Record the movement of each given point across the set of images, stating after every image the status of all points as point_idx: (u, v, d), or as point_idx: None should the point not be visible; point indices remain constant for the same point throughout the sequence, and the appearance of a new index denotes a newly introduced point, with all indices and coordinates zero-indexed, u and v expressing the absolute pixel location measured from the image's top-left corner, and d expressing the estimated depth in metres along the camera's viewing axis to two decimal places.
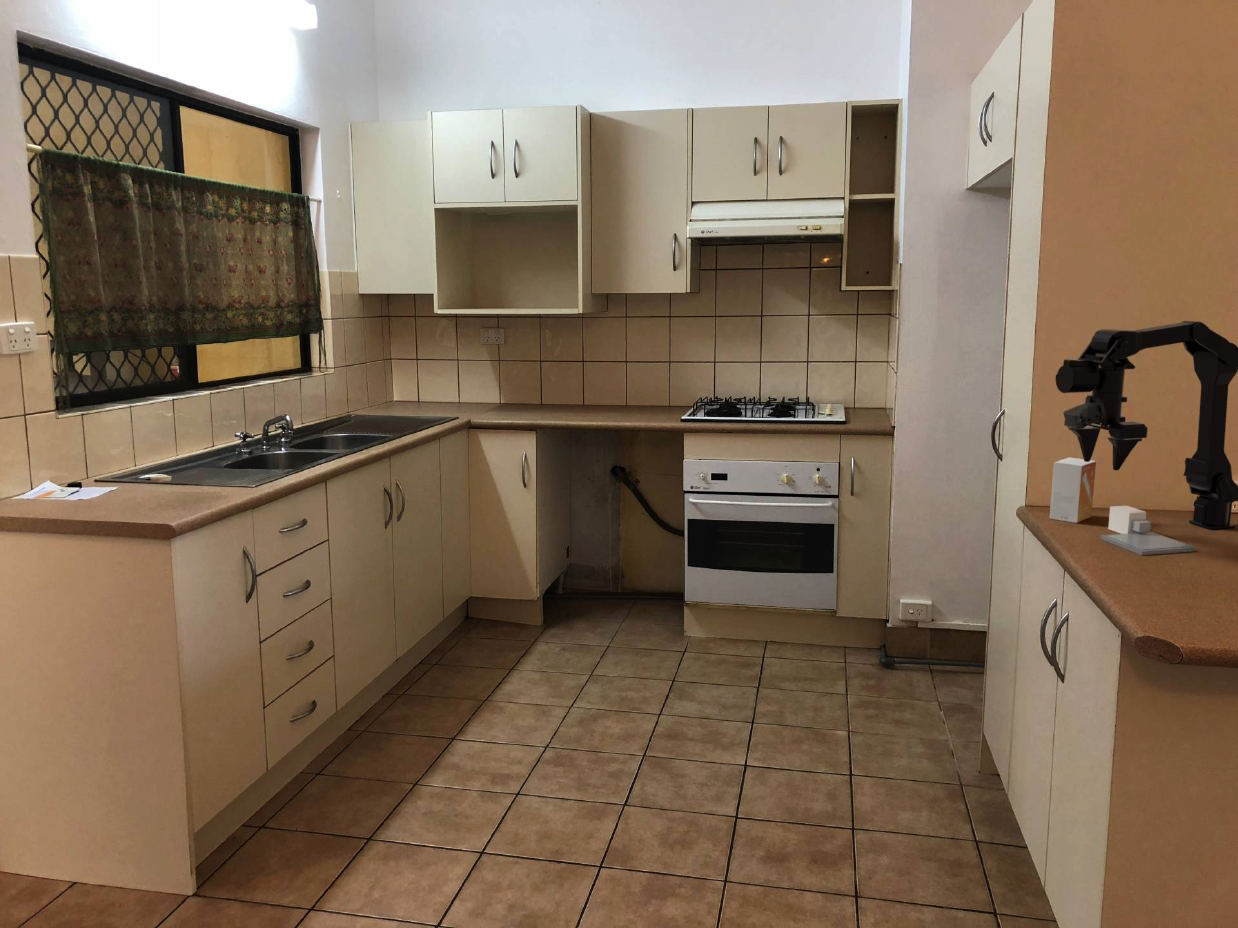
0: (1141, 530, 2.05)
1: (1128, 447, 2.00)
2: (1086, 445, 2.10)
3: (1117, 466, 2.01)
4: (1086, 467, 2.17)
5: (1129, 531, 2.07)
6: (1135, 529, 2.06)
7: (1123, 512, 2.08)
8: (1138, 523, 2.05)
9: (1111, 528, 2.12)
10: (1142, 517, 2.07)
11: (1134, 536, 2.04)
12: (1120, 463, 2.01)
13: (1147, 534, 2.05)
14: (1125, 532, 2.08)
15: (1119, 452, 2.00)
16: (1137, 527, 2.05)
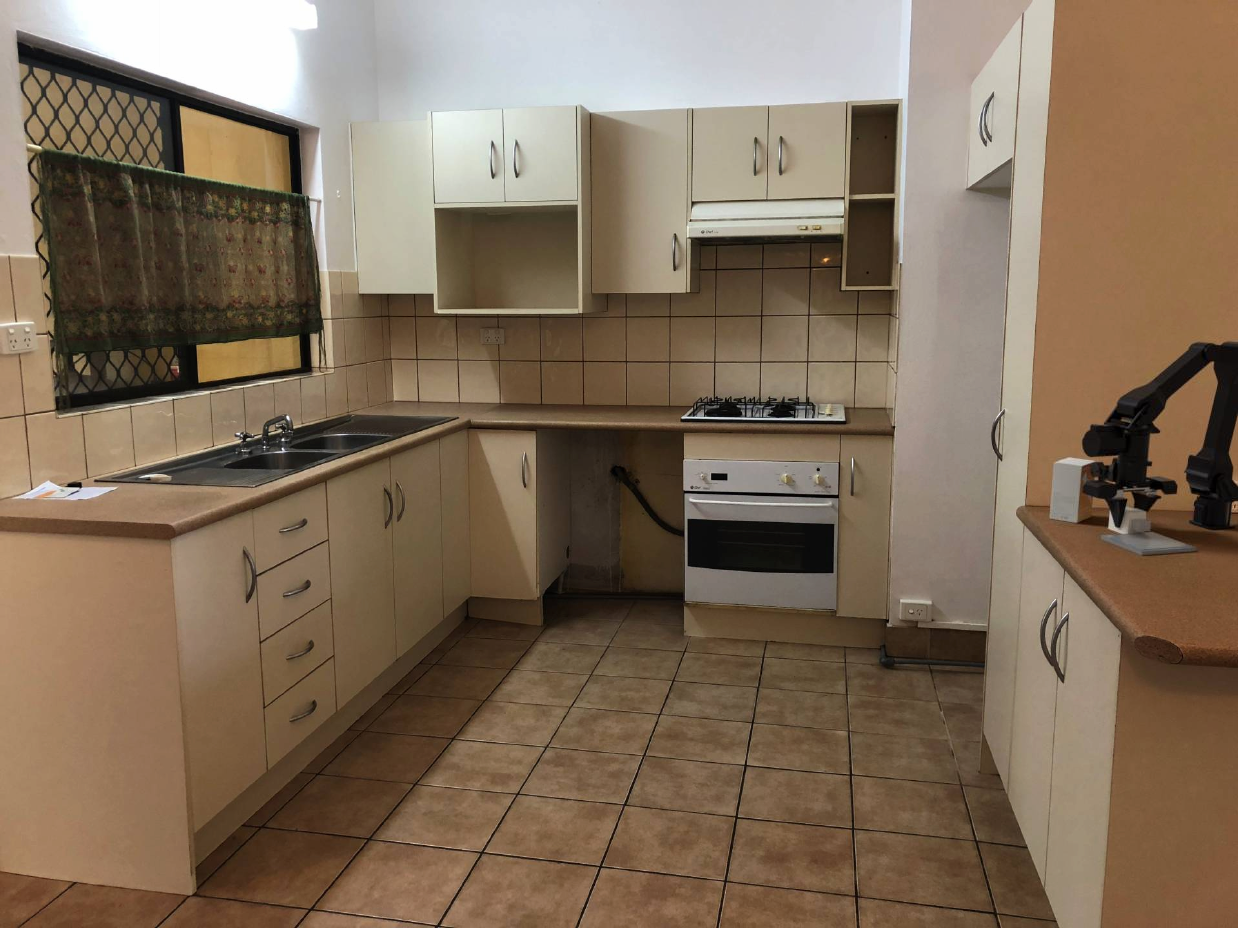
0: (1141, 530, 2.05)
1: (1116, 506, 2.08)
2: None
3: (1115, 523, 2.10)
4: (1086, 467, 2.17)
5: (1129, 531, 2.07)
6: (1135, 529, 2.06)
7: None
8: (1138, 523, 2.05)
9: (1111, 528, 2.12)
10: (1142, 517, 2.07)
11: (1134, 536, 2.04)
12: (1116, 521, 2.09)
13: (1147, 534, 2.05)
14: (1125, 532, 2.08)
15: (1112, 509, 2.10)
16: (1137, 526, 2.05)
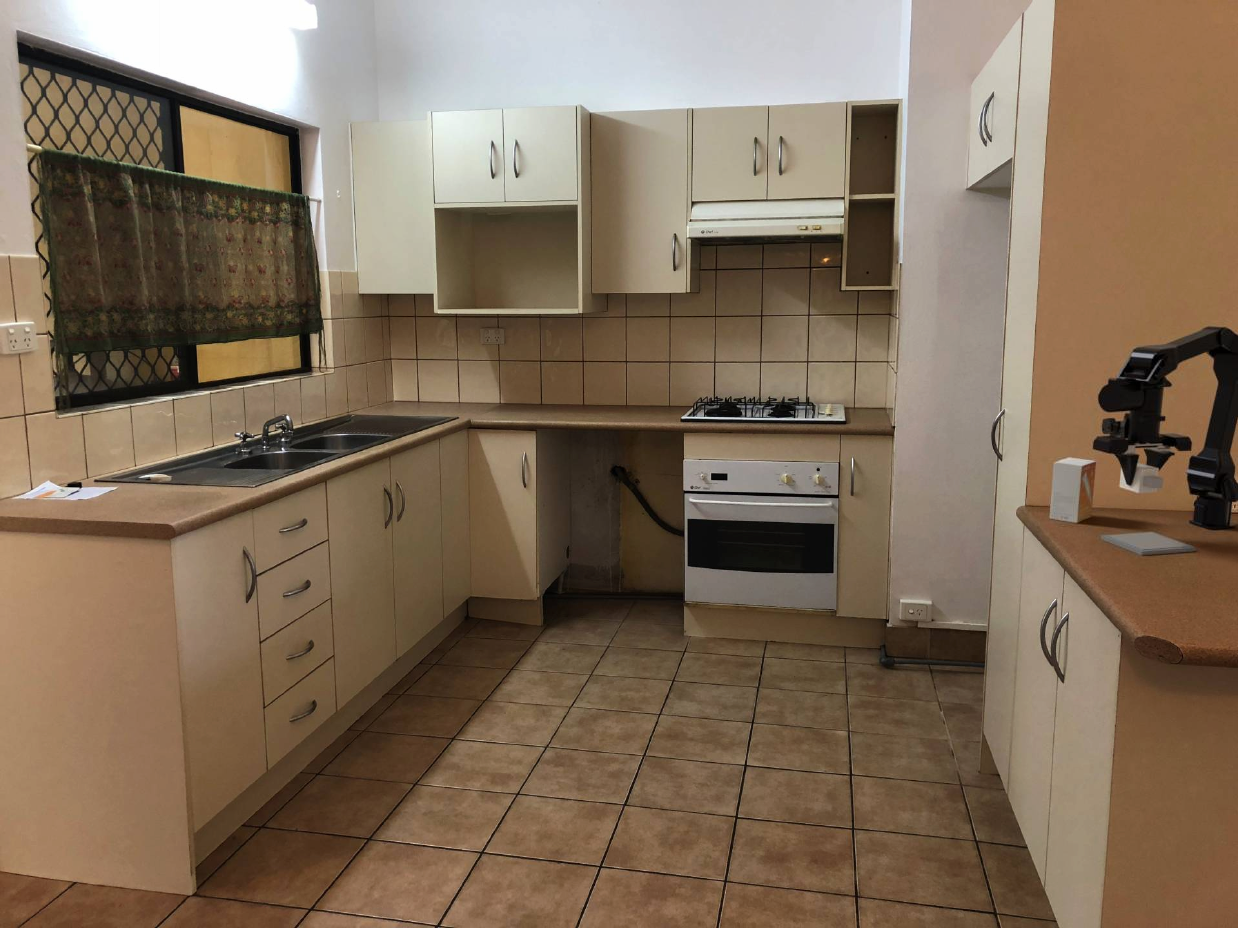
0: (1153, 486, 1.99)
1: (1128, 463, 2.01)
2: None
3: (1126, 480, 2.04)
4: (1086, 467, 2.17)
5: (1141, 488, 2.01)
6: (1147, 485, 2.00)
7: None
8: (1150, 479, 1.99)
9: (1122, 486, 2.06)
10: (1154, 474, 2.01)
11: (1134, 536, 2.04)
12: (1128, 478, 2.03)
13: (1147, 534, 2.05)
14: (1136, 489, 2.02)
15: (1123, 466, 2.03)
16: (1148, 483, 1.99)
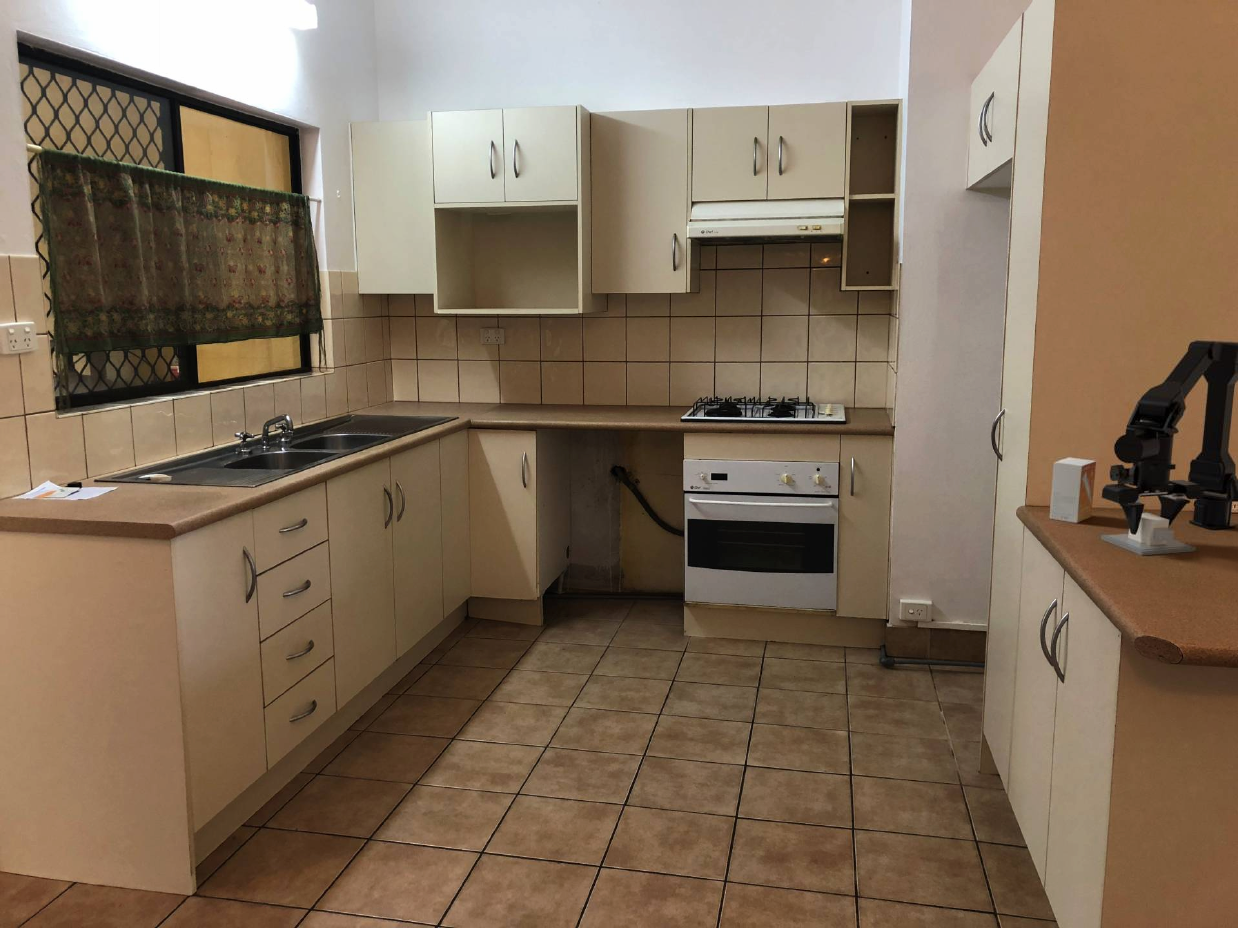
0: (1164, 539, 1.95)
1: (1133, 512, 1.97)
2: (1163, 514, 2.00)
3: (1131, 529, 1.99)
4: (1086, 467, 2.17)
5: (1151, 540, 1.97)
6: (1157, 538, 1.96)
7: (1144, 520, 1.98)
8: (1161, 531, 1.95)
9: (1131, 536, 2.02)
10: (1165, 525, 1.97)
11: None
12: (1132, 527, 1.99)
13: None
14: (1147, 541, 1.98)
15: (1127, 515, 1.99)
16: (1159, 535, 1.95)
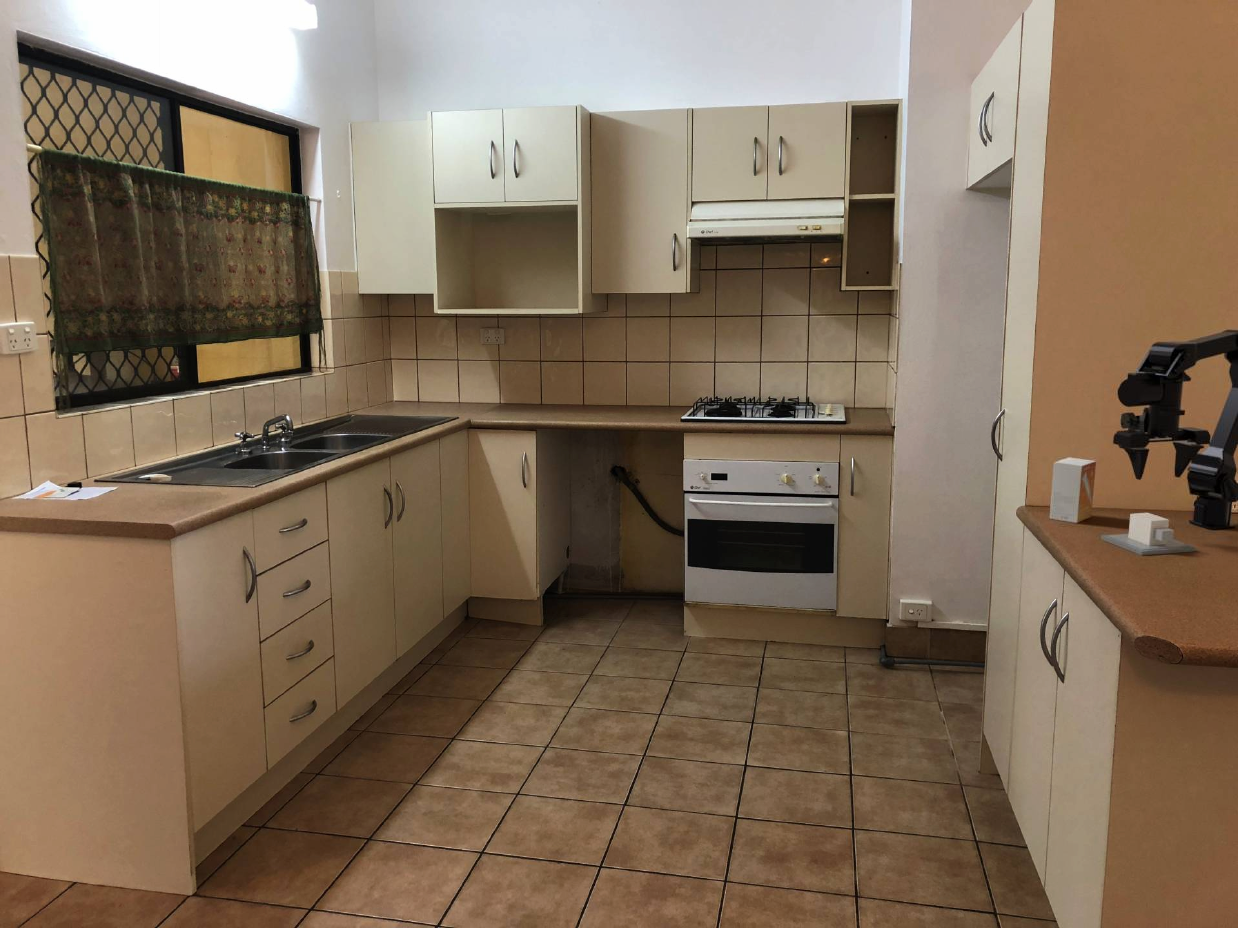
0: (1164, 539, 1.95)
1: (1138, 457, 2.03)
2: (1177, 460, 2.07)
3: (1136, 475, 2.05)
4: (1086, 467, 2.17)
5: (1151, 540, 1.97)
6: (1157, 538, 1.96)
7: (1144, 520, 1.98)
8: (1161, 531, 1.95)
9: (1131, 536, 2.02)
10: (1165, 525, 1.97)
11: None
12: (1137, 473, 2.05)
13: None
14: (1147, 541, 1.98)
15: (1133, 460, 2.05)
16: (1159, 535, 1.95)
